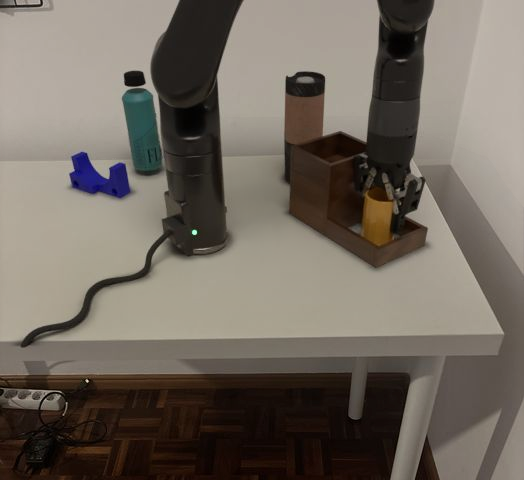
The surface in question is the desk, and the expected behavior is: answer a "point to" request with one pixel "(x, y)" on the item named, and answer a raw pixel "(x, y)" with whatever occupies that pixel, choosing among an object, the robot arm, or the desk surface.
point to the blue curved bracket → (98, 177)
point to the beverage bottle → (141, 123)
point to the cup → (377, 217)
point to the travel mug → (302, 111)
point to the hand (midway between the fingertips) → (382, 223)
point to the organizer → (340, 198)
